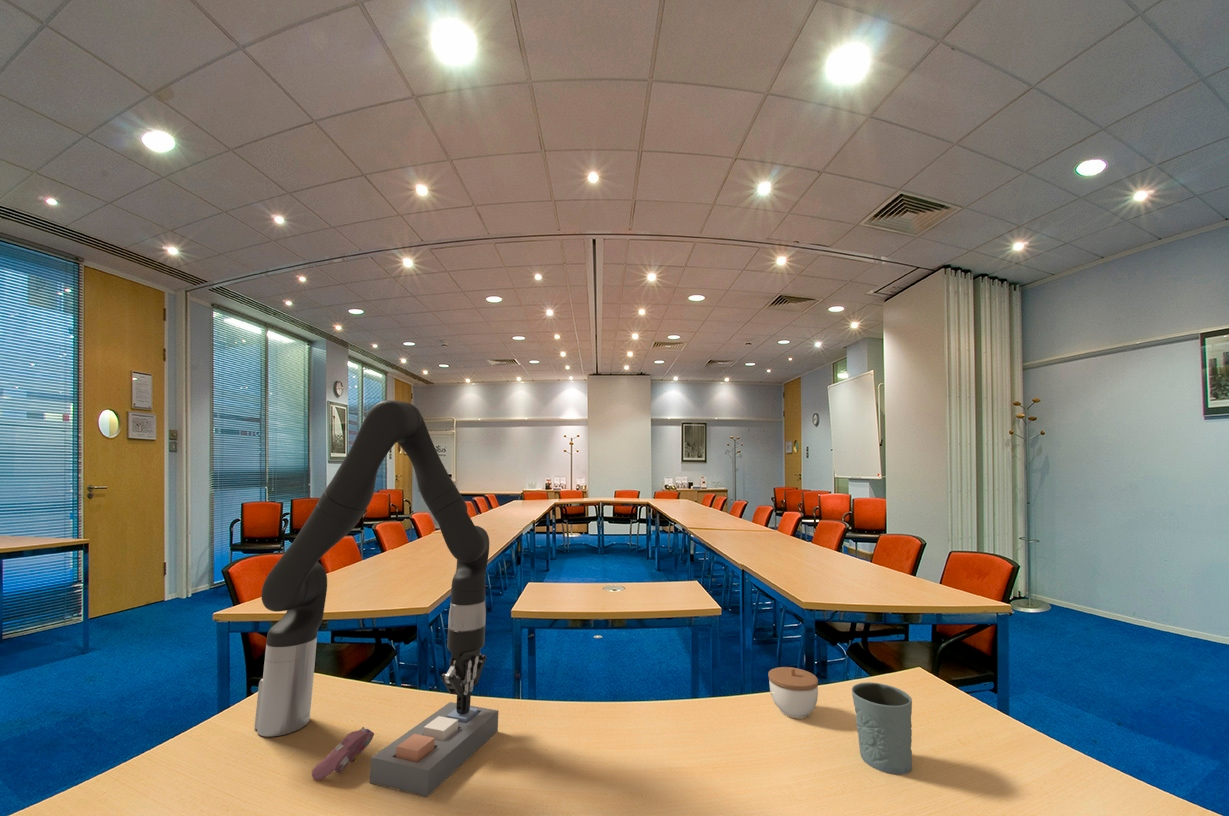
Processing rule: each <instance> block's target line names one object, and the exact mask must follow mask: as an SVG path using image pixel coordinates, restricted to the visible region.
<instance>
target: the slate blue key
mask: <svg viewBox="0 0 1229 816" xmlns="http://www.w3.org/2000/svg"><path fill="white" fill-rule="evenodd" d="M477 714H478V709H476V708H471V707H470V710H469V711H468V712H467V713H466V714H459V713H457V710H456V709H455V710H453V711H452V712H451V713H449V714H448V715H447V718H452V719H458V722H461V723H467V722H469V721H470V720H471V719H472V718H473V717H475V716H476V715H477Z"/></svg>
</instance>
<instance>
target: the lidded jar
mask: <svg viewBox="0 0 1229 816" xmlns="http://www.w3.org/2000/svg"><path fill="white" fill-rule="evenodd" d="M768 680H769V681H768V683H769V692H770V696H771V698H772V700H773V703H774V705H776V707H777V708H778V709H779V712H780V713H781V712H782V713H783V714H782V713H781V714H782V715H784V716H786V715H787V716H786V717H788V716H790V717H789V718H791V717H793V718H792V719H796V718H803V719H806V718H808V717H809V716H810V714H812V712H813V711H814V710H815V709H816V706H817V703H818V698H819V697H818V696H819V679H818V677H817V676H816V675H815V674H813V673H812V672H809V671H807V670H804V669H801V668H796V667H792V666H791V667H790V666H781V667H775V668H772V669H770V670H769V671H768ZM771 692H775V693H771ZM808 715H809V716H808ZM807 716H808V717H807ZM805 717H806V718H805Z"/></svg>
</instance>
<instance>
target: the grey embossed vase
mask: <svg viewBox="0 0 1229 816" xmlns="http://www.w3.org/2000/svg"><path fill="white" fill-rule="evenodd" d="M851 693H852V694H851V695H852V699H853V706H854V711H855V714H856V715H855V721H856V732H857V736H858V737H857V738H858V745H859V754H860V758H861V759H862V761H863V762H864V763H865V764H867V765H868V766H869V767H871V768H872V769H875V770H876V771H880V772H882V773H886V774H891V775H905V774H906V775H907V774H908V773H910V772H911V771H912V769H913V752H912V741H913V739H912V735H913V731H912V730H913V729H912V727H913V726H912V725H913V724H912V711H913V710H912V709H913V699H912V697H911V696H910V694H908V693H907V692H906V691H904V690H902V689H901V688H897V687H895V686H892V685H888V684H885V683H878V682H871V681H870V682H868V681H867V682H860V683H857V684H854V685H853V686H852V688H851Z"/></svg>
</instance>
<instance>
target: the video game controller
mask: <svg viewBox="0 0 1229 816" xmlns="http://www.w3.org/2000/svg"><path fill="white" fill-rule="evenodd" d="M374 736H375V732H373V731H372V730H371V729H369V728H365V727H364V726H362V727H361V728H360V729H358V730H354V731H351V732H350V733H348V734H346V735H345V737H344V738H343V739H342V741H340V742H339V743H338V744H337V745H336V746H335V747H333V749H332V750H331V751H330V752H329V753H328V754H327V755H326V756H325V757H324V759H322V760H321V761H320V762H318V763H317V764H316V765H315V766H314V767H313V769H312V771H311V778H312V779H313V780H315V781H319V780H323V779H325V778H327V777H328V776H329V775H331V774H332V773H334V772H335V773H336V774H338V775H339V774H340V773H341V771H342V772H343V771H344V770H345V769H346V767H347V765H348V763H350V764H353V763H354V762H356V761H357V760H358V759H359V758H360V755H361V754H362V753H363V751H364V750H365V749H366V748H367V746H369V745H370V743H371V742H372V740H373V738H374ZM355 760H356V761H355Z"/></svg>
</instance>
